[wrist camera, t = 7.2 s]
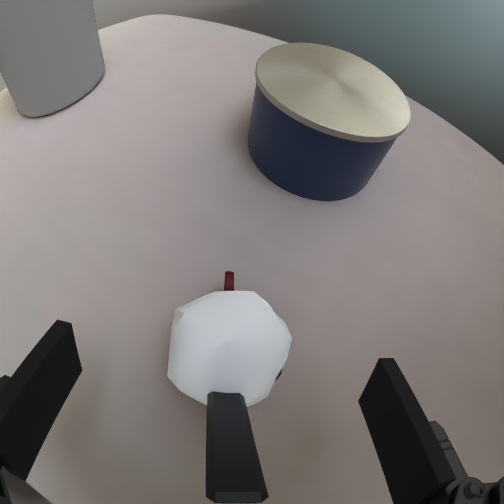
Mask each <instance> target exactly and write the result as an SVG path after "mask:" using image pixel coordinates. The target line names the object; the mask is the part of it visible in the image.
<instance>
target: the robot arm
mask: <svg viewBox="0 0 504 504" xmlns="http://www.w3.org/2000/svg"><path fill="white" fill-rule="evenodd" d="M81 372H82V367H81V363H80V359H79V355H78V351H77V347H76V343H75V338H74V333H73V329H72V324H71V323H69V322H65V321H61V320H56V322H55V323H54V324H53V325H52V326H51V328H50V329H49V330H48V331H47V332H46V334H45V335H44V336H43V337H42V338H41V340H40V341H39V342H38V343H37V344H36V346H35V347H34V348H33V349H32V351H31V352H30V353H29V354H28V356H27V357H26V358H25V360H24V361H23V362H22V363H21V365H20V366H19V367H18V369H17V370H16V371H15V373H14V374H13V375H12V377H9V376H6V375H4V376H3V377H1V378H0V504H12V502H11V499H10V496H9V493H8V490H7V486H6V483H5V479H4V476H3V473H2V471H1V468H2V466H4V467H5V468H6V469H7V470H8V471H9V473H11V474H13V475H14V476H16V477H18V478H20V479H22V480H24V481H26V479H27V477H28V474H29V472H30V470H31V468H32V466H33V463H34V461H35V459H36V457H37V455H38V453H39V451H40V449H41V447H42V445H43V443H44V441H45V439H46V437H47V435H48V433H49V431H50V429H51V427H52V425H53V423H54V421H55V419H56V417H57V415H58V413H59V411H60V410H61V408H62V406H63V404H64V402H65V400H66V398H67V397H68V395H69V393H70V391H71V389H72V388H73V386H74V384H75V382H76V381H77V379H78V377H79V375H80V374H81ZM358 402H359V404H360V407H361V410H362V412H363V415H364V418H365V421H366V423H367V426H368V429H369V432H370V435H371V438H372V440H373V443H374V446H375V449H376V452H377V455H378V458H379V461H380V464H381V467H382V470H383V473H384V476H385V479H386V482H387V485H388V488H389V491H390V494H391V497H392V501H393V504H504V476H503V477H502V478H501V479H500V480H499V481H498V482H494V483H482V482H481V481H480V480H479V479H477V478H474V477H468V475H467V474H466V472H465V470H464V468H463V466H462V464H461V462H460V460H459V458H458V456H457V454H456V452H455V450H454V448H452V444H451V442H450V440H448V439H449V438H448V436H447V434H446V432H445V431H444V429H443V428H442V427H441V426H440V425H439V424H438V423H437V422H436V421H432V422H429V421H428V420H427V418H426V416H425V414H424V412H423V410H422V408H421V406H420V404H419V403H418V401H417V399H416V397H415V395H414V393H413V392H412V390H411V388H410V386H409V384H408V383H407V381H406V379H405V377H404V375H403V374H402V372H401V370H400V368H399V367H398V365H397V363H396V361H395V360H394V358H379V359H378V362H377V364H376V366H375V368H374V370H373V372H372V374H371V377H370V379H369V381H368V383H367V385H366V387H365V389H364V391H363V393H362V395H361V397H360V399H359V400H358Z"/></svg>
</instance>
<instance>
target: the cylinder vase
mask: <svg viewBox="0 0 504 504" xmlns="http://www.w3.org/2000/svg"><path fill="white" fill-rule="evenodd" d="M104 69H105V64H104V59H103V55H102V50H101V45H100V40H99V35H98V30H97V25H96V20H95V13H94V8H93V2H92V0H0V72H1V74H2V76H3V79H4V81H5V83H6V85H7V88H8V90H9V92H10V94H11V96H12V98H13V100H14V102H15V104H16V106H17V108H18V110H19V111H20V112H21V113H22V114H23V115H26V116H30V117H37V116H44V115H47V114H51V113H54V112H56V111H59V110H61V109H63V108H65V107H67V106H69V105H71V104H73V103H74V102H76V101H77V100H79V99H80V98H82V97H83V96H84V95H86V94H87V93H88V92H89V91H90V90H92V89H93V88H94V87H95V85H96V84H97V83H98V82H99V80H100V79H101V77H102V75H103V73H104Z"/></svg>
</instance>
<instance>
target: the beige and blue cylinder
mask: <svg viewBox="0 0 504 504" xmlns="http://www.w3.org/2000/svg"><path fill="white" fill-rule="evenodd" d="M255 76H256V88H255V95H254V101H253V108H252V115H251V122H250V129H249V136H248V147H249V151H250V154H251V156H252V159H253V161H254V162H255V164H256V165H257V167H258V168H259V169H260V171H261V172H262V173H263V174H264V175H265V176H266V177H267V178H268V179H270V180H271V181H272V182H274V183H275V184H276V185H278V186H280V187H281V188H283V189H285V190H287V191H289V192H291V193H293V194H296V195H299V196H301V197H305V198H309V199H314V200H322V201H332V200H340V199H345V198H347V197H350V196H353V195H354V194H356V193H358V192H359V191H360V190H361V189H363V187H364V186H365V185H366V184H367V182H368V181H369V179H370V178H371V176H372V175H373V173H374V172H375V170H376V169H377V167H378V166H379V164H380V163H381V161H382V160H383V158H384V157H385V155H386V154H387V152H388V151H389V149H390V148H391V146H392V144H393V143H394V141H395V140H396V138H397V137H398V136H399V135H401V134H402V133H403V132H404V130H405V129H406V128H407V126H408V124H409V122H410V116H411V113H410V107H409V104H408V101H407V99H406V97H405V96H404V94H403V92H402V91H401V90H400V88H399V87H398V86H397V85H396V84H395V83H394V82H393V81H392V80H391V79H390V78H389V77H388V76H387V75H386V74H384V73H383V72H382V71H381V70H379V69H378V68H376V67H375V66H374V65H372V64H370V63H369V62H367V61H365V60H363V59H361V58H360V57H357V56H355V55H353V54H351V53H348V52H346V51H343V50H340V49H336V48H333V47H329V46H325V45H319V44H311V43H290V44H283V45H279V46H276V47H273V48H271V49H269V50H267V51H266V52H265V53H263V54H262V55H261V57H260V58H259V59H258V61H257V64H256V71H255Z"/></svg>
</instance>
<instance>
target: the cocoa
mask: <svg viewBox="0 0 504 504" xmlns="http://www.w3.org/2000/svg"><path fill="white" fill-rule="evenodd" d="M291 342H292V338H291V335H290V332H289V330H288V327H287V325H286V322H285V321H283V320H282V319H281V318H280V317H279V316H278V315H276V314H275V313H274V311H273V310H272V308H271V307H270V305H269V304H268V303H267V302H266V301H265V300H264V299H263V298H261V297H260V296H259V295H258V294H256V293H255V292H254V291H234V273H233V272H230V271H227V272H225V285H224V291H214V292H212V293H209V294H207V295H204V296H202V297H199V298H197V299H195V300H193V301H191V302H189V303H187V304H185V305H183V306H180V307H178V308H176V309H175V313H174V318H173V322H172V327H171V333H170V344H169V361H168V373H167V377H168V378H169V379H170V380H171V381H172V383H173V384H174V385H175V386H176V387H177V388H178V389H179V390H180V391H181V392H182V393H184V394H186V395H188V396H190V397H191V398H193V399H195V400H197V401H199V402H201V403H202V404H205V405H207V426H206V497H207V498H209V499H210V500H212V501H213V502H215V503H261V502H263V501H264V500H265V499H267V498H268V497H269V496H268V492H267V488H266V485H265V481H264V477H263V473H262V469H261V465H260V461H259V457H258V453H257V449H256V445H255V441H254V437H253V433H252V428H251V424H250V420H249V416H248V411H247V407H248V406H251V405H253V404H255V403H257V402H259V401H261V400H263V399H265V398H267V397H268V395H269V393H270V391H271V389H272V386H273V384H274V382H275V381H276V380H277V378H278V377H279V376H280V375H281V371H282V367H283V366H284V364H285V362H286V361H287V358H288V354H289V350H290V346H291Z"/></svg>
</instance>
